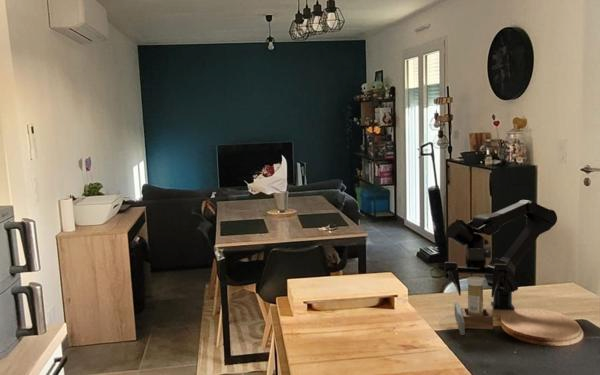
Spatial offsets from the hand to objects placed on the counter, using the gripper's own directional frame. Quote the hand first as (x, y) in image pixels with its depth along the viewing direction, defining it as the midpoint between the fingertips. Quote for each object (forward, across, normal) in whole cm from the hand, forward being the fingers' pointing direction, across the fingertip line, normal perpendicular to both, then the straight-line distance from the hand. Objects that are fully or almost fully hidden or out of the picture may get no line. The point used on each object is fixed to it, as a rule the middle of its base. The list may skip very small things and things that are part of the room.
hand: (476, 295), depth 163 cm
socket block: (+5, 0, +7) cm, 9 cm away
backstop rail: (+6, -5, +7) cm, 10 cm away
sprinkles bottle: (+5, 0, +7) cm, 9 cm away
